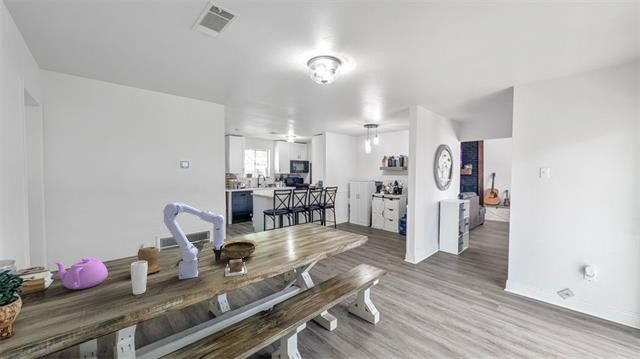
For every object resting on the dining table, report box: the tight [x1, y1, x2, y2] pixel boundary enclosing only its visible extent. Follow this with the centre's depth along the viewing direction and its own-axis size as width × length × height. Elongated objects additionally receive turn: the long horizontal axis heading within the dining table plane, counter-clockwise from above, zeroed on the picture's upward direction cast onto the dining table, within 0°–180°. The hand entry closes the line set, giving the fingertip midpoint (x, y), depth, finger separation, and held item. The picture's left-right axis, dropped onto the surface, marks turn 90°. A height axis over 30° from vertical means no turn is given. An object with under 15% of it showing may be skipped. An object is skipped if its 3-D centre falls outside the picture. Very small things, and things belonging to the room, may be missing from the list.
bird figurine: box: [175, 239, 209, 266], centre depth 165 cm, size 13×10×20 cm
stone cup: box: [137, 246, 163, 275], centre depth 145 cm, size 15×12×15 cm
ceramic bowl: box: [222, 239, 259, 260], centre depth 173 cm, size 30×24×10 cm
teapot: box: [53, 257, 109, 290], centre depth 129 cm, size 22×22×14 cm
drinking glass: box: [130, 260, 148, 296], centre depth 122 cm, size 7×7×15 cm
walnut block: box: [229, 259, 243, 273], centre depth 149 cm, size 7×4×6 cm, turn 110°
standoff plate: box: [224, 261, 248, 278], centre depth 149 cm, size 12×10×4 cm
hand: (218, 258), depth 146 cm, fingers open, 7 cm apart
